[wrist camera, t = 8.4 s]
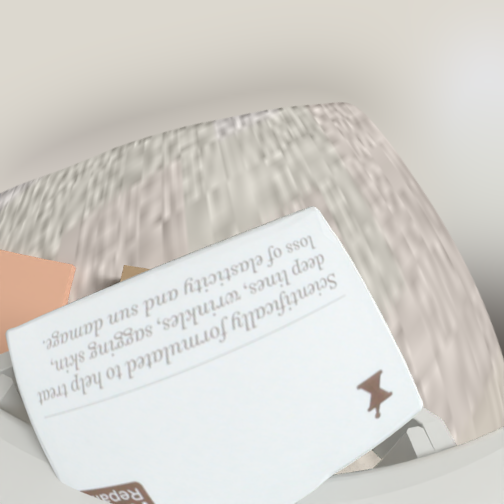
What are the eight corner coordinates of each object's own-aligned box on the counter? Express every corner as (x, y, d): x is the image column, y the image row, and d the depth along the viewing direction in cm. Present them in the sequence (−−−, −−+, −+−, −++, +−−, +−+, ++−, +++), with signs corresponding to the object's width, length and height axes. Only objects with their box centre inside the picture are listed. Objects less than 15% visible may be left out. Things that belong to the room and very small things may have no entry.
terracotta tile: (51, 417, 16) (47, 418, 16) (-36, 371, 15) (-41, 370, 14) (75, 268, 22) (72, 264, 21) (-12, 249, 20) (-16, 246, 20)
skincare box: (244, 314, 16) (322, 177, 5) (281, 387, 15) (443, 400, 4) (142, 357, 14) (-10, 304, 3) (177, 432, 13) (101, 558, 2)
